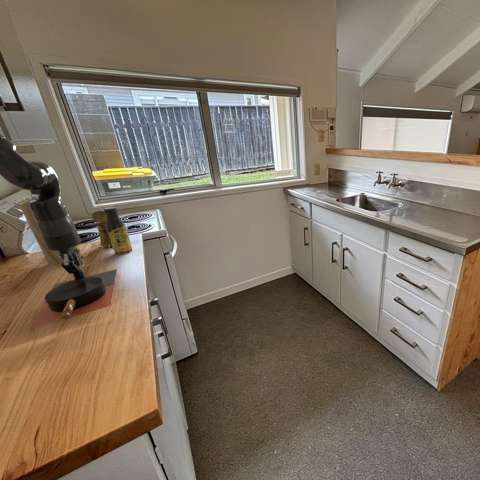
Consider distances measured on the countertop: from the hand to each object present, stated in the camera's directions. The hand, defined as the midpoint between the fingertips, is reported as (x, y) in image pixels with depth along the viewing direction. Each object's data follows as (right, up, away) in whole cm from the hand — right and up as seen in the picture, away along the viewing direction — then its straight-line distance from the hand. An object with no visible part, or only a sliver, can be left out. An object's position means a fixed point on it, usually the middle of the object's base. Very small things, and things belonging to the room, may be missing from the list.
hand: (82, 281), depth 83 cm
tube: (-26, +5, +21) cm, 34 cm away
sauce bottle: (-6, +8, +27) cm, 28 cm away
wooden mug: (-18, +11, +35) cm, 41 cm away
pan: (+7, -6, -9) cm, 13 cm away
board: (+3, -4, -3) cm, 6 cm away
